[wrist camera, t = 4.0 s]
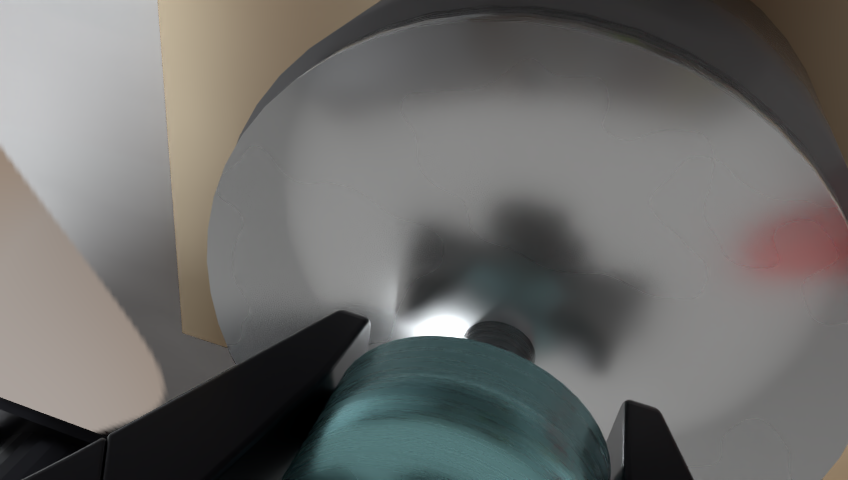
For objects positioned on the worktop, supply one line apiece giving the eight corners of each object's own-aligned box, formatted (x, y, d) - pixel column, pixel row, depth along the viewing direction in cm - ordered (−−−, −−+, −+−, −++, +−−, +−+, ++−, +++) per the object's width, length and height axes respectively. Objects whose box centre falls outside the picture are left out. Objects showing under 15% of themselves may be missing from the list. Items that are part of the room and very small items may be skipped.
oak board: (199, 314, 19) (182, 333, 18) (165, -301, 12) (134, -307, 11) (938, 555, 16) (948, 588, 15) (1526, -87, 8) (1596, -76, 8)
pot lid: (235, 429, 13) (77, 653, 10) (225, -66, 8) (-93, 33, 5) (712, 598, 12) (722, 933, 8) (1030, 111, 7) (1367, 427, 3)
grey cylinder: (313, 312, 16) (226, 432, 13) (339, -120, 11) (210, -87, 8) (894, 496, 14) (950, 691, 11) (1241, 59, 9) (1519, 193, 6)
